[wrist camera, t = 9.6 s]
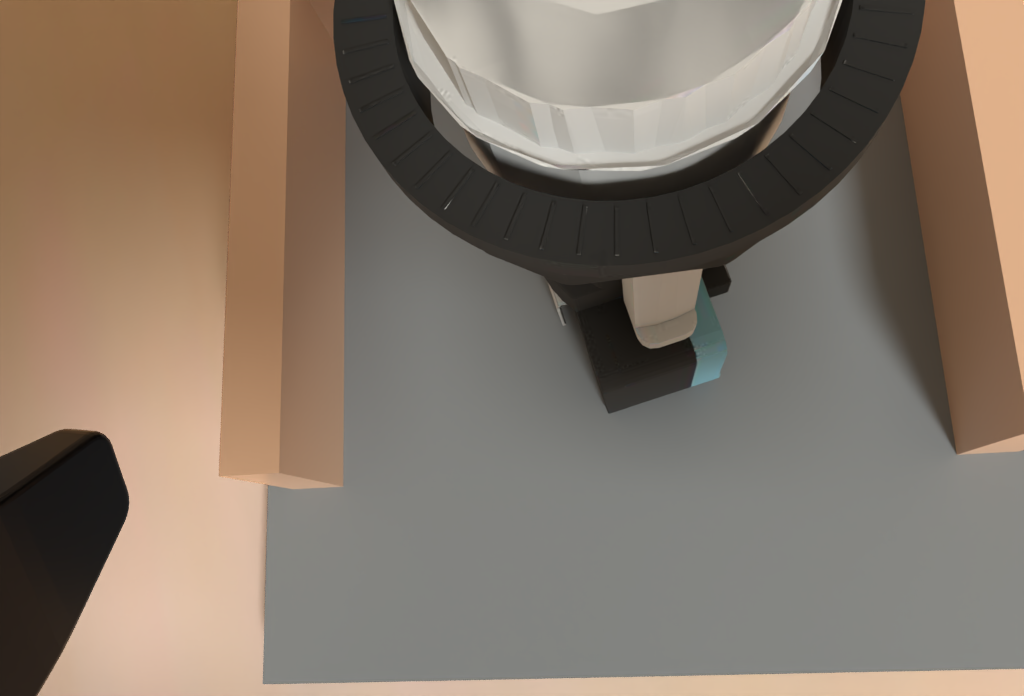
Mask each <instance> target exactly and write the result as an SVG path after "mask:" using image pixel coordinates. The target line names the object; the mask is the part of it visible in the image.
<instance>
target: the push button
mask: <svg viewBox="0 0 1024 696" xmlns="http://www.w3.org/2000/svg"><path fill="white" fill-rule="evenodd" d="M924 9H925V0H335V1H334V10H333V40H334V48H335V56H336V65H337V69H338V73H339V77H340V81H341V85H342V89H343V93H344V95H345V98H346V100H347V103H348V106H349V108H350V111H351V114H352V116H353V118H354V120H355V122H356V124H357V126H358V128H359V130H360V132H361V134H362V135H363V137H364V139H365V141H366V142H367V144H368V145H369V147H370V148H371V150H372V151H373V153H374V154H375V156H376V157H377V159H378V160H379V161H380V163H381V164H382V166H383V167H384V169H385V170H386V172H387V173H388V175H389V176H390V177H391V179H392V180H393V181H394V182H395V183H396V185H397V186H398V187H399V188H400V189H401V190H402V191H403V193H404V194H405V195H406V196H407V197H408V198H409V199H410V200H411V201H412V202H413V203H414V204H415V205H416V206H418V207H419V208H420V209H421V210H422V211H423V212H424V213H425V214H426V215H427V216H429V217H430V218H431V219H432V220H434V221H435V222H437V223H438V224H439V225H441V226H442V227H444V228H445V229H446V230H448V231H449V232H451V233H452V234H453V235H455V236H457V237H459V238H461V239H462V240H464V241H466V242H468V243H470V244H471V245H473V246H475V247H477V248H479V249H481V250H483V251H484V252H486V253H487V254H489V255H491V256H494V257H496V258H499V259H501V260H504V261H506V262H509V263H511V264H514V265H516V266H519V267H521V268H524V269H526V270H529V271H531V272H534V273H536V274H539V275H541V276H544V277H545V279H546V280H547V282H548V285H549V288H550V291H551V294H552V297H553V300H554V303H555V306H556V309H557V311H558V314H559V317H560V319H561V322H562V325H563V326H565V325H567V324H566V321H565V318H564V315H563V312H562V309H561V307H562V306H564V305H566V304H567V305H568V306H569V307H571V308H572V309H573V310H574V311H575V314H576V317H577V320H578V323H579V326H580V329H581V333H582V336H583V339H584V342H585V345H586V348H587V352H588V355H589V358H590V361H591V364H592V368H593V371H594V374H595V377H596V380H597V383H598V386H599V389H600V392H601V394H602V397H603V400H604V403H605V406H606V409H607V412H608V413H609V414H610V413H613V412H617V411H620V410H623V409H626V408H628V407H631V406H634V405H637V404H640V403H643V402H647V401H650V400H653V399H656V398H659V397H662V396H665V395H668V394H671V393H674V392H677V391H680V390H683V389H686V388H689V387H692V386H696V385H699V384H702V383H705V382H708V381H711V380H714V379H717V378H719V377H720V375H721V374H720V371H721V368H722V366H723V364H724V361H725V359H726V356H727V345H726V341H725V338H724V335H723V332H722V329H721V326H720V324H719V321H718V318H717V316H716V313H715V311H714V308H713V305H712V303H711V300H710V298H712V297H715V296H718V295H721V294H724V293H727V292H728V291H729V288H730V285H731V282H732V281H731V278H730V275H729V273H728V270H727V268H726V264H728V263H730V262H732V261H733V260H735V259H736V258H737V257H739V256H740V255H741V254H743V253H744V252H746V251H747V250H748V249H750V248H751V247H752V246H754V245H755V244H757V243H758V242H759V241H761V240H763V239H765V238H766V237H768V236H770V235H772V234H773V233H775V232H777V231H778V230H780V229H782V228H784V227H785V226H787V225H788V224H790V223H791V222H793V221H794V220H795V219H797V218H798V217H800V216H801V215H802V214H804V213H805V212H806V211H808V210H809V209H811V208H812V207H813V206H814V205H816V204H817V203H818V202H819V201H820V200H821V199H822V198H823V197H824V196H826V195H827V194H828V193H829V192H830V191H831V190H832V189H833V188H834V187H836V186H837V185H838V184H839V182H840V181H841V180H842V179H843V178H844V177H845V176H846V175H847V174H848V172H849V171H850V170H851V169H852V168H853V167H854V166H855V165H856V163H857V162H858V161H859V160H860V158H861V157H862V156H863V154H864V153H865V151H866V150H867V149H868V147H869V146H870V144H871V143H872V141H873V140H874V139H875V137H876V136H877V134H878V132H879V130H880V129H881V127H882V125H883V123H884V121H885V120H886V118H887V116H888V114H889V112H890V111H891V109H892V107H893V105H894V103H895V101H896V100H897V98H898V96H899V94H900V92H901V90H902V88H903V86H904V83H905V81H906V78H907V76H908V73H909V71H910V68H911V66H912V63H913V61H914V57H915V54H916V50H917V46H918V42H919V39H920V35H921V31H922V23H923V16H924ZM820 57H821V85H820V92H819V93H818V94H817V96H816V97H815V98H814V100H813V101H812V102H811V104H810V105H809V106H808V108H807V109H806V110H805V112H804V113H803V114H802V115H801V116H800V117H799V118H798V119H797V120H796V121H795V122H794V123H793V124H792V125H791V126H790V127H789V128H788V129H787V130H786V131H785V132H784V133H783V134H782V135H781V136H779V137H778V138H777V139H776V140H775V141H773V142H772V143H771V144H770V145H768V144H769V142H770V141H771V139H772V137H773V135H774V134H775V132H776V130H777V128H778V126H779V125H780V123H781V121H782V118H783V115H784V112H785V109H786V105H787V102H788V99H789V96H790V93H791V91H792V90H793V89H794V88H795V87H796V86H797V85H798V84H799V83H800V82H801V81H802V80H803V79H804V78H805V77H806V76H807V75H808V74H809V73H810V72H811V70H812V69H813V67H814V66H815V64H816V63H817V61H818V60H819V58H820ZM430 92H431V93H432V94H433V95H434V96H435V97H436V98H437V100H438V101H439V102H440V103H441V104H442V105H443V106H444V108H445V109H446V110H447V111H448V112H449V113H450V114H451V116H452V117H453V118H454V119H455V120H456V121H457V122H458V124H459V125H460V126H461V127H463V130H464V132H465V134H466V137H467V139H468V141H469V144H470V146H471V148H472V149H473V151H474V152H475V154H476V155H477V156H478V158H479V159H480V161H481V162H482V163H483V165H484V166H485V168H486V169H487V170H488V171H487V170H485V169H484V168H482V167H481V166H479V165H478V164H476V163H475V162H473V161H472V160H470V159H469V158H467V157H466V156H464V155H463V154H462V153H461V152H460V151H459V150H457V149H456V148H455V147H454V146H453V145H452V144H451V143H449V142H448V141H447V140H446V139H445V138H444V137H443V136H442V135H441V133H440V132H439V131H438V130H437V129H436V128H435V127H434V122H433V116H432V111H431V93H430Z"/></svg>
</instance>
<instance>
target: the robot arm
mask: <svg viewBox="0 0 1024 696" xmlns="http://www.w3.org/2000/svg"><path fill="white" fill-rule="evenodd" d="M128 509H129V494H128V490H127V488H126V485H125V482H124V479H123V476H122V473H121V470H120V467H119V464H118V461H117V458H116V455H115V453H114V450H113V447H112V444H111V442H110V440H109V439H108V438H107V437H106V436H105V435H104V434H102V433H100V432H97V431H88V430H77V429H63V430H59V431H56V432H54V433H52V434H49V435H47V436H45V437H43V438H41V439H39V440H36V441H34V442H32V443H30V444H28V445H25V446H23V447H21V448H19V449H17V450H14V451H12V452H10V453H8V454H6V455H3V456H1V457H0V696H37V695H38V693H39V691H40V690H41V688H42V686H43V685H44V683H45V681H46V680H47V678H48V676H49V675H50V673H51V671H52V669H53V668H54V666H55V664H56V662H57V661H58V659H59V657H60V655H61V654H62V652H63V650H64V648H65V646H66V644H67V642H68V640H69V638H70V636H71V634H72V632H73V630H74V628H75V626H76V624H77V622H78V619H79V617H80V615H81V613H82V611H83V609H84V607H85V605H86V602H87V600H88V598H89V596H90V594H91V592H92V590H93V588H94V586H95V583H96V581H97V579H98V577H99V575H100V573H101V571H102V569H103V567H104V564H105V562H106V560H107V558H108V556H109V554H110V552H111V550H112V547H113V545H114V543H115V541H116V539H117V537H118V535H119V533H120V531H121V528H122V526H123V524H124V522H125V520H126V517H127V513H128Z"/></svg>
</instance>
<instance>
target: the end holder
mask: <svg viewBox="0 0 1024 696" xmlns="http://www.w3.org/2000/svg"><path fill="white" fill-rule="evenodd" d="M334 1H335V0H238V3H237V29H236V54H235V79H234V105H233V130H232V155H231V180H230V206H229V231H228V256H227V281H226V307H225V332H224V357H223V383H222V408H221V433H220V458H219V476H220V477H226V478H232V479H237V480H243V481H249V482H255V483H260V484H266V485H268V511H267V549H266V587H265V625H264V663H263V684H297V683H346V682H395V681H444V680H493V679H542V678H591V677H640V676H689V675H738V674H787V673H835V672H884V671H933V670H982V669H1024V2H1023V0H925V9H924V16H923V23H922V31H921V35H920V39H919V42H918V46H917V50H916V54H915V57H914V61H913V63H912V66H911V68H910V71H909V73H908V76H907V78H906V81H905V83H904V86H903V88H902V90H901V92H900V94H899V96H898V98H897V100H896V101H895V103H894V105H893V107H892V109H891V111H890V112H889V114H888V116H887V118H886V120H885V121H884V123H883V125H882V127H881V129H880V130H879V132H878V134H877V136H876V137H875V139H874V140H873V141H872V143H871V144H870V146H869V147H868V149H867V150H866V151H865V153H864V154H863V156H862V157H861V158H860V160H859V161H858V162H857V163H856V165H855V166H854V167H853V168H852V169H851V170H850V171H849V172H848V174H847V175H846V176H845V177H844V178H843V179H842V180H841V181H840V182H839V184H838V185H837V186H836V187H834V188H833V189H832V190H831V191H830V192H829V193H828V194H827V195H826V196H824V197H823V198H822V199H821V200H820V201H819V202H818V203H817V204H816V205H814V206H813V207H812V208H811V209H809V210H808V211H806V212H805V213H804V214H802V215H801V216H800V217H798V218H797V219H795V220H794V221H793V222H791V223H790V224H788V225H787V226H785V227H784V228H782V229H780V230H778V231H777V232H775V233H773V234H772V235H770V236H768V237H766V238H765V239H763V240H761V241H759V242H758V243H757V244H755V245H754V246H752V247H751V248H750V249H748V250H747V251H746V252H744V253H743V254H741V255H740V256H739V257H737V258H736V259H735V260H733V261H732V262H730V263H728V264H726V268H727V270H728V273H729V275H730V278H731V281H732V282H731V285H730V288H729V291H728V292H727V293H724V294H721V295H718V296H715V297H712V298H710V300H711V303H712V305H713V308H714V311H715V313H716V316H717V318H718V321H719V324H720V326H721V329H722V332H723V335H724V338H725V341H726V345H727V356H726V359H725V361H724V364H723V366H722V368H721V371H720V374H721V375H720V377H719V378H717V379H714V380H711V381H708V382H705V383H702V384H699V385H696V386H692V387H689V388H686V389H683V390H680V391H677V392H674V393H671V394H668V395H665V396H662V397H659V398H656V399H653V400H650V401H647V402H643V403H640V404H637V405H634V406H631V407H628V408H626V409H623V410H620V411H617V412H613V413H610V414H609V413H608V412H607V409H606V406H605V403H604V400H603V397H602V394H601V392H600V389H599V386H598V383H597V380H596V377H595V374H594V371H593V368H592V364H591V361H590V358H589V355H588V352H587V348H586V345H585V342H584V339H583V336H582V333H581V329H580V326H579V323H578V320H577V317H576V314H575V311H574V310H573V309H572V308H571V307H569V306H568V305H567V304H566V305H564V306H562V307H561V309H562V312H563V315H564V318H565V321H566V324H567V325H565V326H563V325H562V322H561V319H560V317H559V314H558V311H557V309H556V306H555V303H554V300H553V297H552V294H551V291H550V288H549V285H548V282H547V280H546V279H545V277H544V276H541V275H539V274H536V273H534V272H531V271H529V270H526V269H524V268H521V267H519V266H516V265H514V264H511V263H509V262H506V261H504V260H501V259H499V258H496V257H494V256H491V255H489V254H487V253H486V252H484V251H483V250H481V249H479V248H477V247H475V246H473V245H471V244H470V243H468V242H466V241H464V240H462V239H461V238H459V237H457V236H455V235H453V234H452V233H451V232H449V231H448V230H446V229H445V228H444V227H442V226H441V225H439V224H438V223H437V222H435V221H434V220H432V219H431V218H430V217H429V216H427V215H426V214H425V213H424V212H423V211H422V210H421V209H420V208H419V207H418V206H416V205H415V204H414V203H413V202H412V201H411V200H410V199H409V198H408V197H407V196H406V195H405V194H404V193H403V191H402V190H401V189H400V188H399V187H398V186H397V185H396V183H395V182H394V181H393V180H392V179H391V177H390V176H389V175H388V173H387V172H386V170H385V169H384V167H383V166H382V164H381V163H380V161H379V160H378V159H377V157H376V156H375V154H374V153H373V151H372V150H371V148H370V147H369V145H368V144H367V142H366V141H365V139H364V137H363V135H362V134H361V132H360V130H359V128H358V126H357V124H356V122H355V120H354V118H353V116H352V114H351V111H350V108H349V106H348V103H347V100H346V98H345V95H344V93H343V89H342V85H341V81H340V77H339V73H338V69H337V65H336V56H335V48H334V40H333V10H334ZM820 85H821V57H820V58H819V60H818V61H817V63H816V64H815V66H814V67H813V69H812V70H811V72H810V73H809V74H808V75H807V76H806V77H805V78H804V79H803V80H802V81H801V82H800V83H799V84H798V85H797V86H796V87H795V88H794V89H793V90H792V91H791V93H790V96H789V99H788V102H787V105H786V109H785V112H784V115H783V118H782V121H781V123H780V125H779V126H778V128H777V130H776V132H775V134H774V135H773V137H772V139H771V141H770V142H769V144H768V145H770V144H771V143H772V142H773V141H775V140H776V139H777V138H778V137H779V136H781V135H782V134H783V133H784V132H785V131H786V130H787V129H788V128H789V127H790V126H791V125H792V124H793V123H794V122H795V121H796V120H797V119H798V118H799V117H800V116H801V115H802V114H803V113H804V112H805V110H806V109H807V108H808V106H809V105H810V104H811V102H812V101H813V100H814V98H815V97H816V96H817V94H818V93H819V92H820ZM430 93H431V92H430ZM431 111H432V116H433V122H434V127H435V128H436V129H437V130H438V131H439V132H440V133H441V135H442V136H443V137H444V138H445V139H446V140H447V141H448V142H449V143H451V144H452V145H453V146H454V147H455V148H456V149H457V150H459V151H460V152H461V153H462V154H463V155H464V156H466V157H467V158H469V159H470V160H472V161H473V162H475V163H476V164H478V165H479V166H481V167H482V168H484V169H485V170H487V169H486V168H485V166H484V165H483V163H482V162H481V161H480V159H479V158H478V156H477V155H476V154H475V152H474V151H473V149H472V148H471V146H470V144H469V141H468V139H467V137H466V134H465V132H464V130H463V127H461V126H460V125H459V124H458V122H457V121H456V120H455V119H454V118H453V117H452V116H451V114H450V113H449V112H448V111H447V110H446V109H445V108H444V106H443V105H442V104H441V103H440V102H439V101H438V100H437V98H436V97H435V96H434V95H433V94H432V93H431ZM487 171H488V170H487Z"/></svg>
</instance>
